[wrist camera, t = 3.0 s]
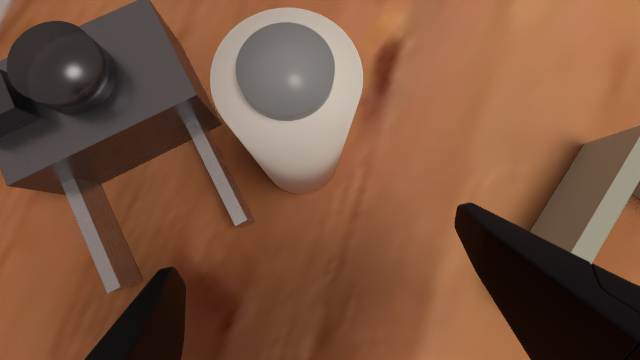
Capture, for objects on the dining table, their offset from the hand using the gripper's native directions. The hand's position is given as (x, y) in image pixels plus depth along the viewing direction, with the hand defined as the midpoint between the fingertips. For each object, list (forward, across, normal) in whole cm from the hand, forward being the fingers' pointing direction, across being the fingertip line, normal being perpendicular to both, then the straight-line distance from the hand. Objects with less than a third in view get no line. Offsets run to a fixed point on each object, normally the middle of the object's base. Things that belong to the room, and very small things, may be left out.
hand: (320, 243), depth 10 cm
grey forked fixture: (+14, +10, +3) cm, 18 cm away
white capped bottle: (+12, 0, +4) cm, 13 cm away
